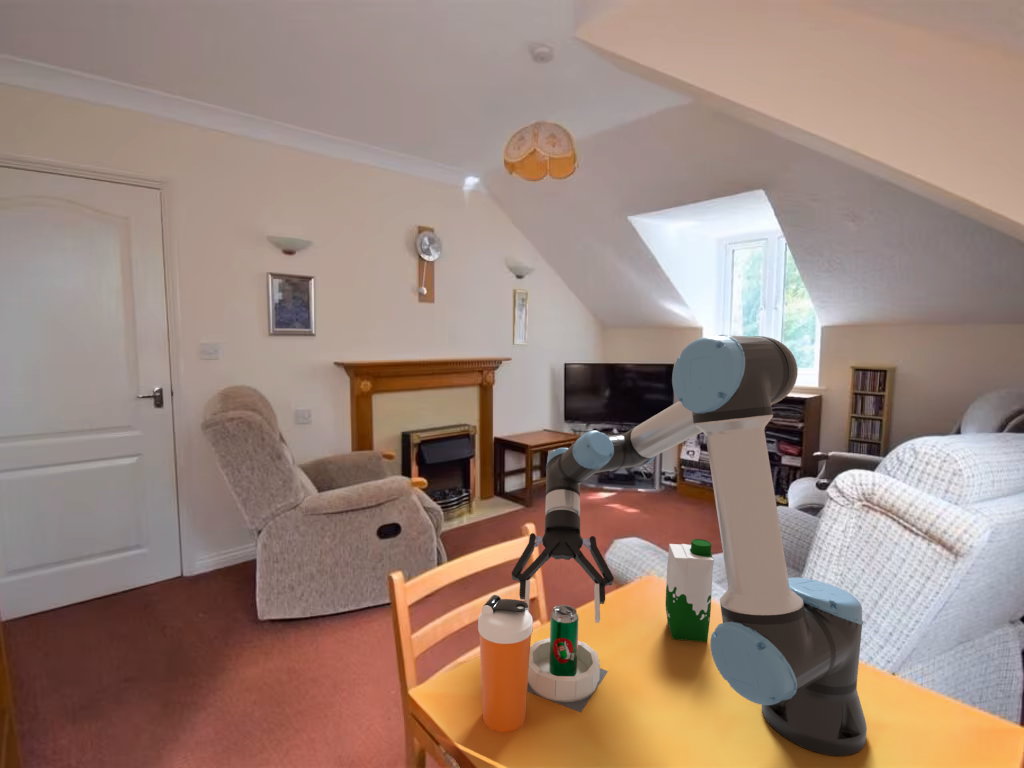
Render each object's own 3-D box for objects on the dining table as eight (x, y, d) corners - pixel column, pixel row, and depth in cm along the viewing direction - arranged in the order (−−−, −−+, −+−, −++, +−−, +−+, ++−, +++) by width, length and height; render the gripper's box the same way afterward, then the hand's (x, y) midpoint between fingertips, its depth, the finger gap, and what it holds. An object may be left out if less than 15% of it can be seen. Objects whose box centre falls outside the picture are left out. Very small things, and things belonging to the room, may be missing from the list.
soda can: (561, 661, 103) (563, 600, 102) (582, 673, 99) (584, 611, 98) (543, 672, 99) (545, 610, 98) (564, 685, 96) (566, 621, 95)
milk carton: (712, 645, 111) (717, 551, 110) (667, 641, 113) (671, 548, 111) (703, 622, 120) (708, 535, 118) (662, 619, 121) (665, 532, 119)
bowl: (608, 670, 102) (609, 650, 101) (581, 712, 90) (581, 690, 90) (545, 649, 108) (546, 630, 108) (512, 685, 97) (513, 664, 97)
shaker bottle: (525, 742, 84) (528, 620, 82) (470, 733, 86) (471, 613, 84) (534, 704, 93) (537, 592, 91) (484, 696, 95) (485, 587, 93)
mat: (607, 673, 102) (607, 671, 102) (580, 714, 91) (580, 712, 91) (546, 651, 108) (546, 649, 108) (513, 687, 97) (513, 685, 97)
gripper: (619, 525, 119) (625, 627, 105) (506, 520, 121) (498, 620, 107) (623, 510, 113) (630, 616, 100) (504, 505, 115) (495, 608, 101)
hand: (561, 618), depth 103 cm, fingers open, 13 cm apart
